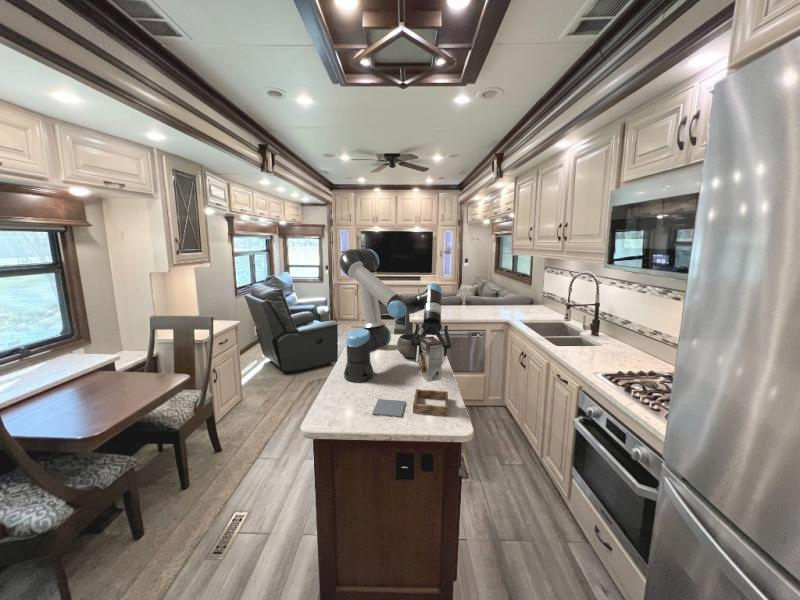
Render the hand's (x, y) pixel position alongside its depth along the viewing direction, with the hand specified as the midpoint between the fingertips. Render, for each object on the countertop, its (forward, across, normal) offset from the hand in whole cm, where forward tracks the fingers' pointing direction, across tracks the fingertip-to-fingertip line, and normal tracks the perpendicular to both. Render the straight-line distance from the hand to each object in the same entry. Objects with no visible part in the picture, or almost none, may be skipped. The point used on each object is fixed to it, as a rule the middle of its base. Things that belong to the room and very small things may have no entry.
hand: (429, 362), depth 130 cm
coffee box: (+3, 0, +8) cm, 8 cm away
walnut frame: (+12, +1, +17) cm, 21 cm away
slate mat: (+16, -16, +13) cm, 26 cm away
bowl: (-27, -12, +57) cm, 64 cm away
